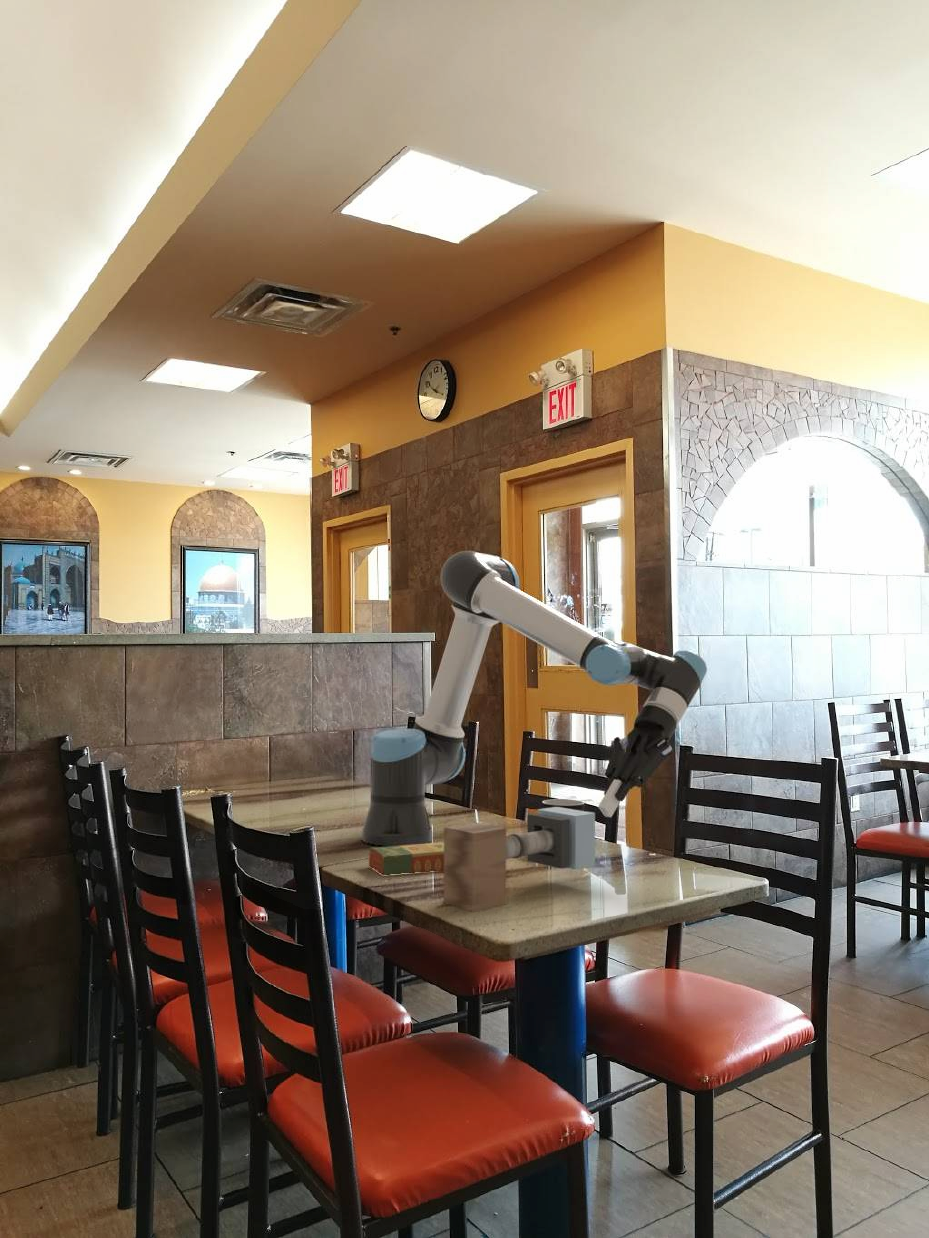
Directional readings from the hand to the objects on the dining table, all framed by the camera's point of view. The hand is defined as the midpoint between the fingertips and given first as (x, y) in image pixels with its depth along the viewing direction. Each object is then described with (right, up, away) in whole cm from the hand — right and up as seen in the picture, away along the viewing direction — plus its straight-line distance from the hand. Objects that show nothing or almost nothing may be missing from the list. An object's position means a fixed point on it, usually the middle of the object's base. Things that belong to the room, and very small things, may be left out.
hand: (604, 812), depth 172 cm
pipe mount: (-15, -11, -13) cm, 23 cm away
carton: (-34, -12, +4) cm, 37 cm away
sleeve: (-8, -8, -7) cm, 13 cm away
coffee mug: (-5, -13, +22) cm, 26 cm away
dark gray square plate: (-11, -7, -10) cm, 16 cm away
